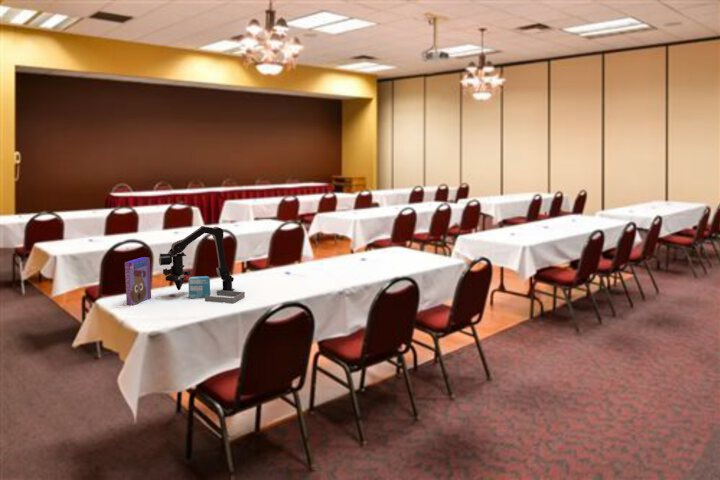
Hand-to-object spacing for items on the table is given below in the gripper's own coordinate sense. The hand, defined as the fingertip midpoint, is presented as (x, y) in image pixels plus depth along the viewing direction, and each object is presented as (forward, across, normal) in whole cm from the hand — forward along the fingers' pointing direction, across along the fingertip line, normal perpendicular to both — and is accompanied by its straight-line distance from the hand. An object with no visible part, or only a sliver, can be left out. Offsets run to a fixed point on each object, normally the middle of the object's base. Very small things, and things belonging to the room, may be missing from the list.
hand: (178, 289), depth 358 cm
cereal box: (+4, +18, -14) cm, 23 cm away
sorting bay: (+4, 0, +30) cm, 30 cm away
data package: (+4, 0, +13) cm, 14 cm away
